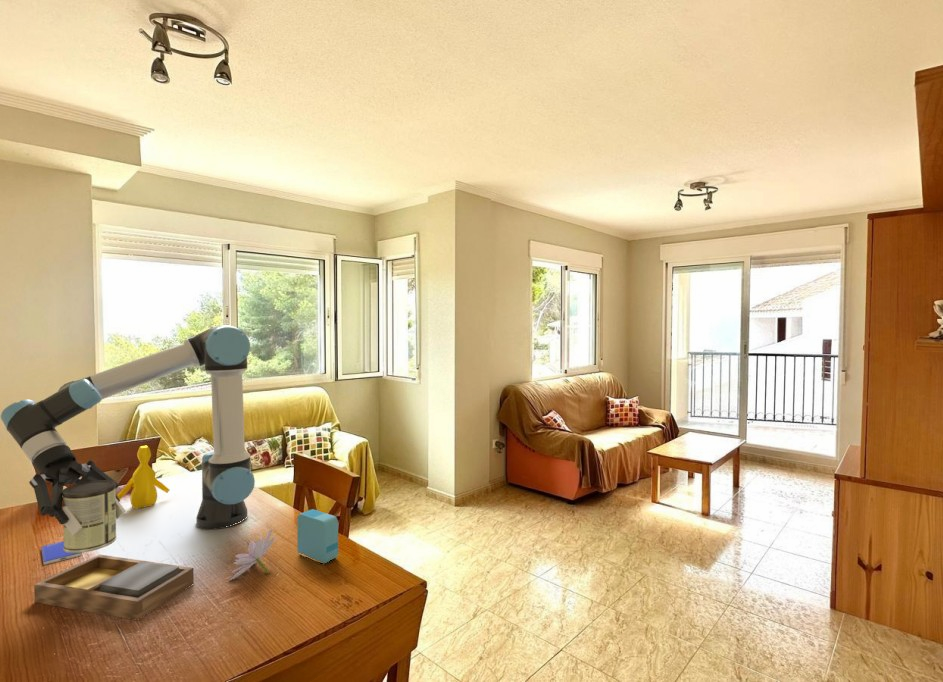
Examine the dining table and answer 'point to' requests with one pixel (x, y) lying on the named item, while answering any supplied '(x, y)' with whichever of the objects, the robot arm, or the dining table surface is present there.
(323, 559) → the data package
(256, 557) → the water lily
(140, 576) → the wooden tray
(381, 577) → the dining table surface
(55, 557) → the hard drive
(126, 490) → the figure statuette
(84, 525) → the coffee can
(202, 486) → the robot arm
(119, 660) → the dining table surface
